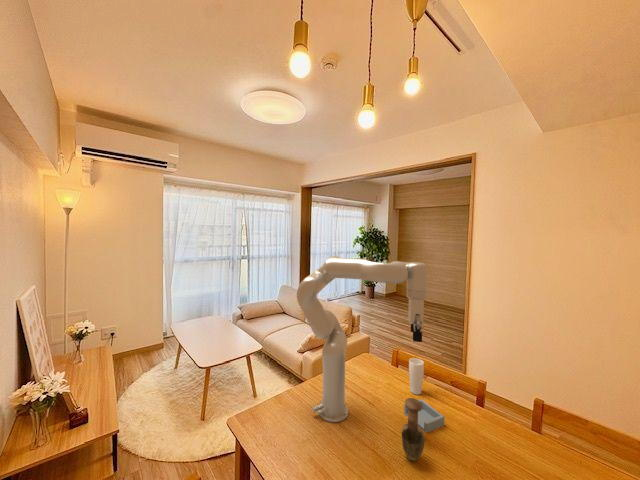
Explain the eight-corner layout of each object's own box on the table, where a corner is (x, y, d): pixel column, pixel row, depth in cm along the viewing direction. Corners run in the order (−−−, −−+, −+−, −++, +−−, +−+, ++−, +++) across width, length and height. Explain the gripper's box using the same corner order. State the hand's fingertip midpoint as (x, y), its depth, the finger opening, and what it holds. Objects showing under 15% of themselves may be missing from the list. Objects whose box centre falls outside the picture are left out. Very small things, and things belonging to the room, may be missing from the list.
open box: (426, 433, 99) (426, 424, 99) (404, 413, 109) (404, 404, 109) (444, 425, 103) (444, 416, 103) (420, 406, 114) (421, 398, 114)
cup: (426, 455, 89) (426, 432, 88) (421, 472, 83) (422, 447, 82) (404, 445, 93) (404, 424, 92) (398, 460, 87) (399, 437, 86)
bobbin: (412, 444, 93) (413, 412, 93) (397, 429, 100) (398, 399, 100) (427, 437, 96) (428, 406, 96) (412, 424, 103) (413, 394, 103)
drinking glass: (424, 397, 120) (425, 365, 120) (409, 395, 122) (410, 364, 121) (421, 388, 127) (422, 358, 127) (407, 386, 128) (408, 357, 128)
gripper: (405, 288, 111) (404, 327, 111) (408, 298, 94) (407, 344, 95) (423, 289, 109) (423, 329, 110) (430, 299, 92) (429, 346, 93)
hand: (416, 336), depth 102 cm, fingers open, 9 cm apart
